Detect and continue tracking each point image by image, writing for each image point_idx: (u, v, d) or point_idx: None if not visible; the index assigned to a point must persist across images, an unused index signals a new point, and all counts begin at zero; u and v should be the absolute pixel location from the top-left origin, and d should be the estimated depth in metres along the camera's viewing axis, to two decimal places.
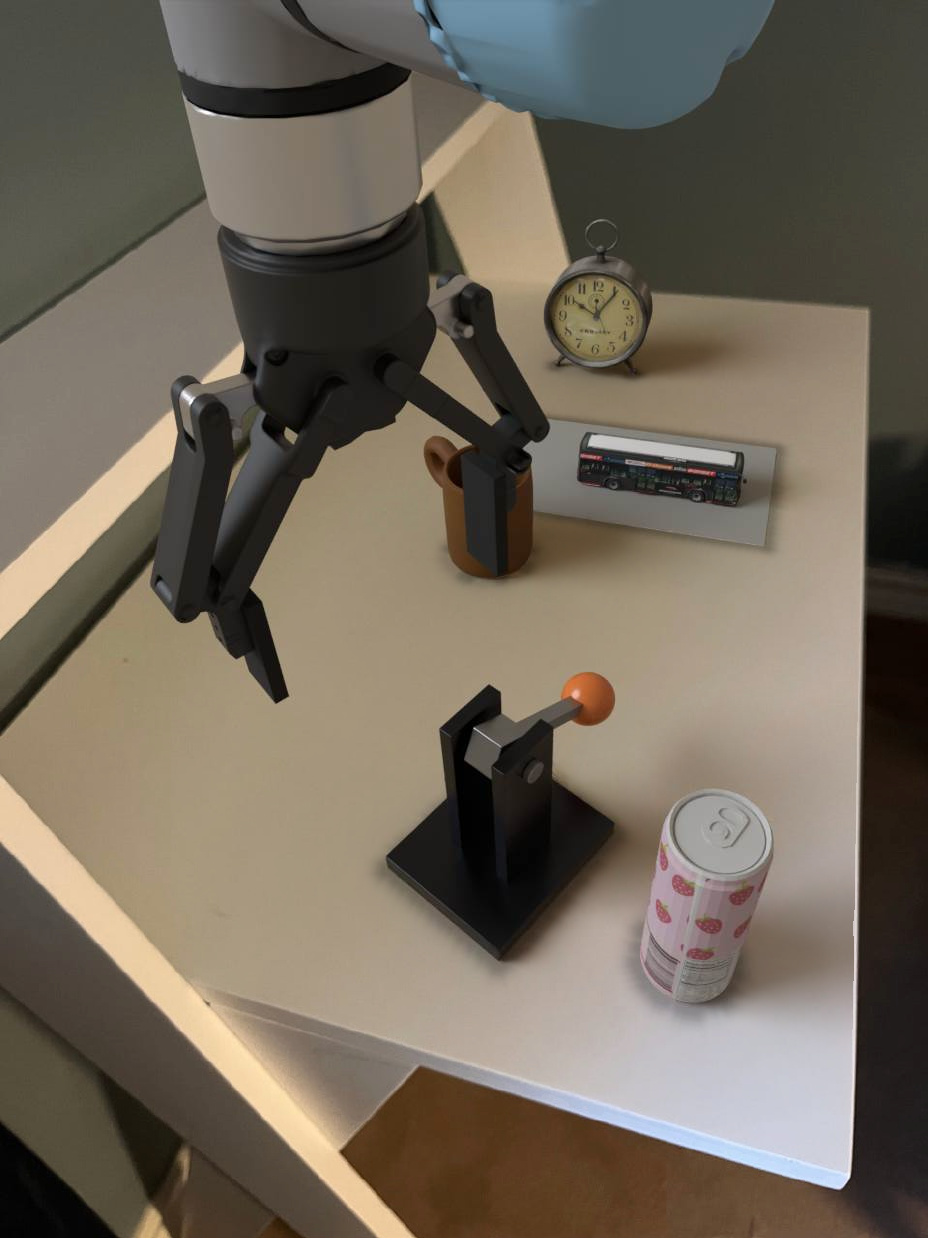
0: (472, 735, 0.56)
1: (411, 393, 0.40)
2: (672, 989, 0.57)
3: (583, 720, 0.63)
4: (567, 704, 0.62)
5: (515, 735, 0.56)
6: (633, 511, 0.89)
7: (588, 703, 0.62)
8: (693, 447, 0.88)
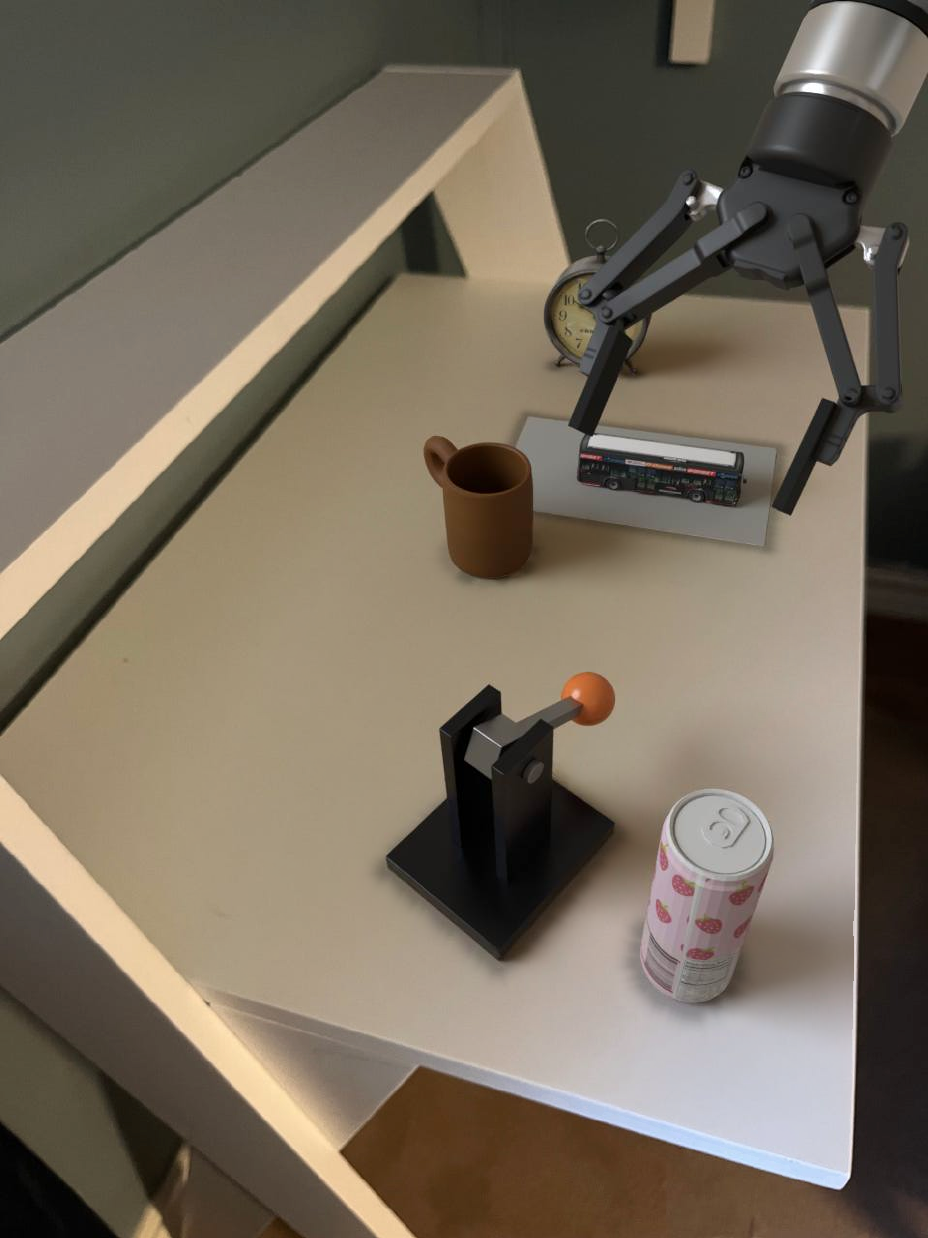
0: (472, 735, 0.56)
1: (801, 251, 0.54)
2: (672, 989, 0.57)
3: (583, 720, 0.63)
4: (567, 704, 0.62)
5: (515, 735, 0.56)
6: (633, 511, 0.89)
7: (588, 703, 0.62)
8: (693, 447, 0.88)
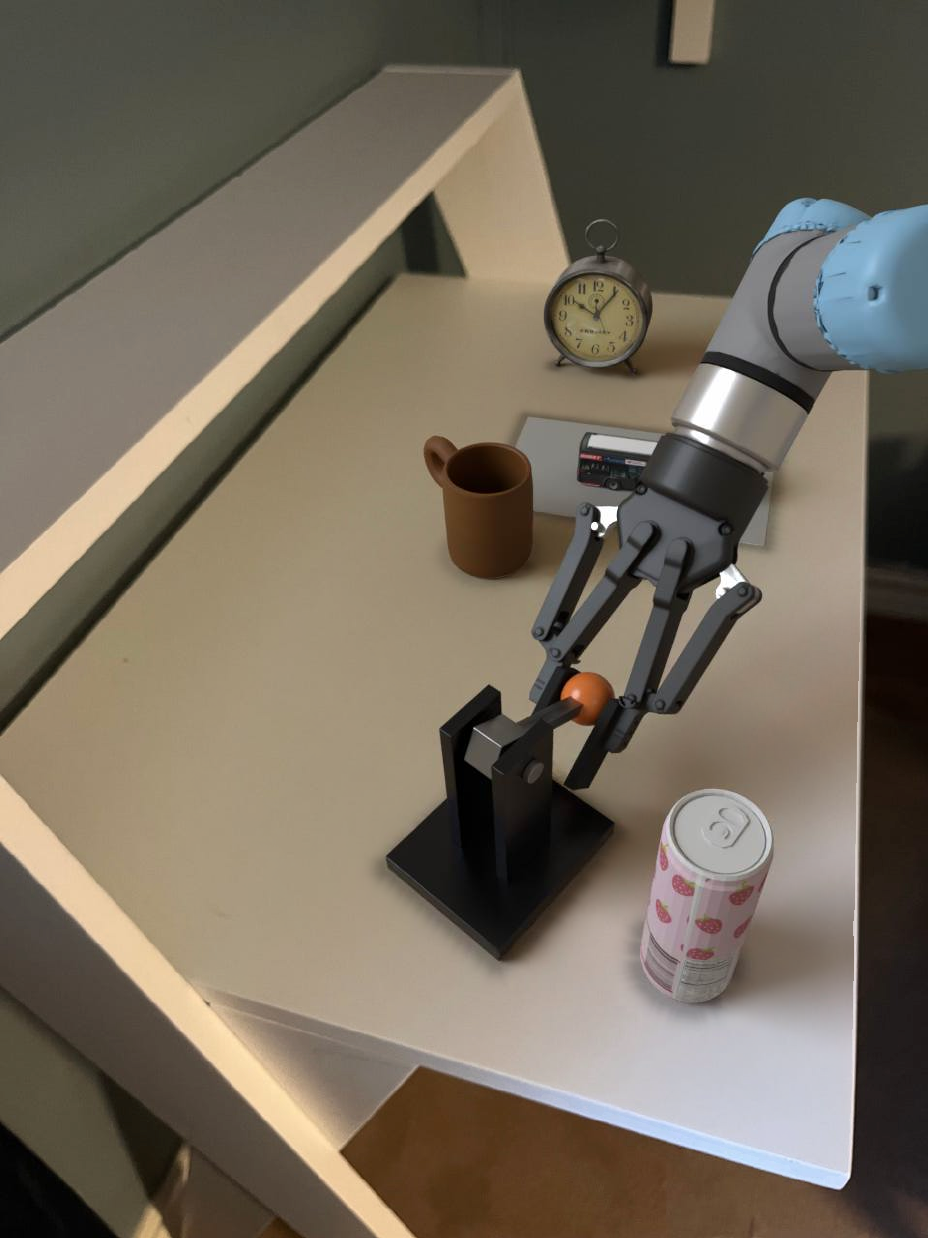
0: (472, 735, 0.56)
1: (667, 569, 0.60)
2: (672, 989, 0.57)
3: (583, 720, 0.63)
4: (567, 704, 0.62)
5: (515, 735, 0.56)
6: None
7: (588, 703, 0.62)
8: None
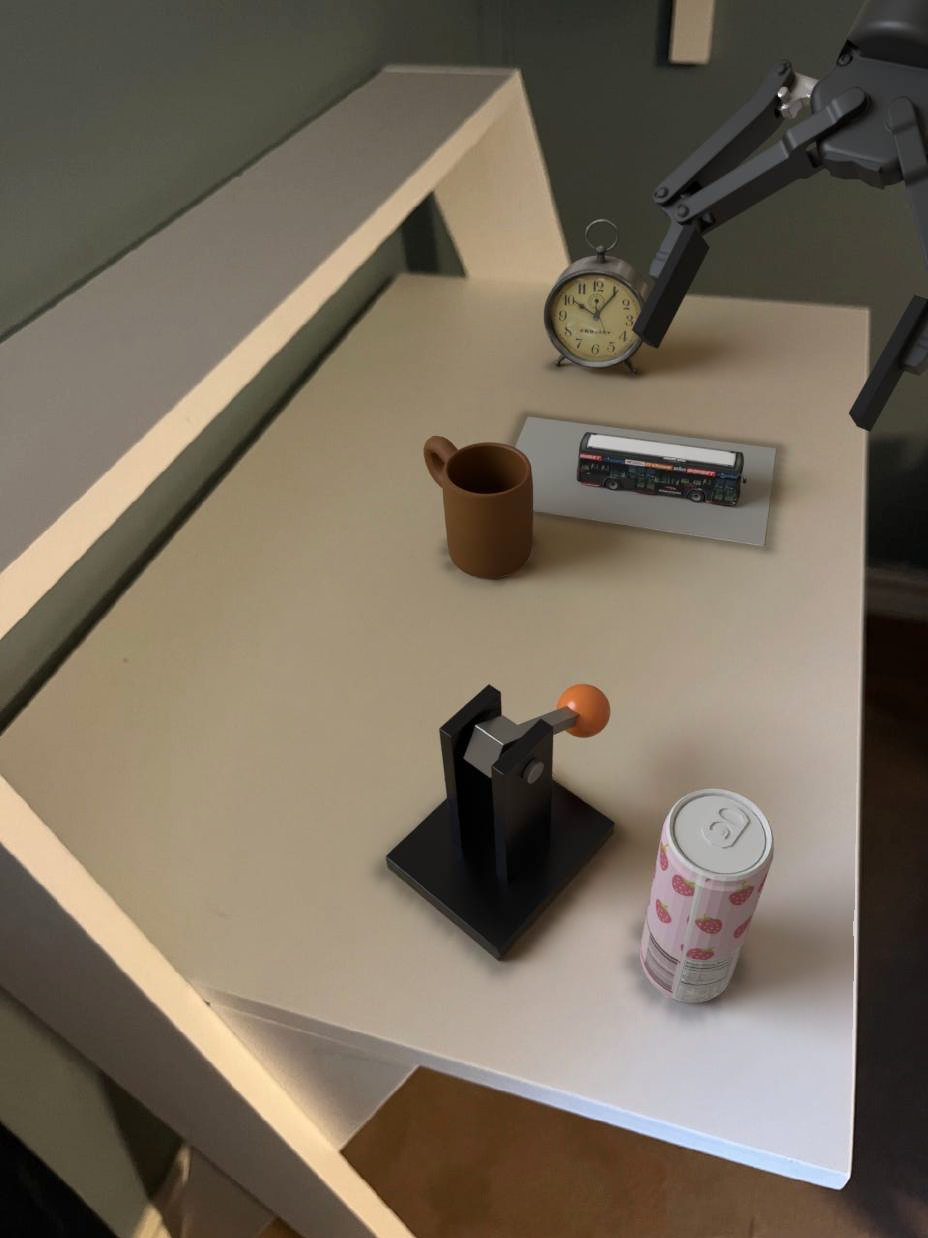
0: (473, 733, 0.56)
1: (901, 137, 0.49)
2: (672, 989, 0.57)
3: (578, 731, 0.63)
4: (564, 713, 0.62)
5: (517, 735, 0.56)
6: (633, 511, 0.89)
7: (584, 713, 0.63)
8: (693, 447, 0.88)
